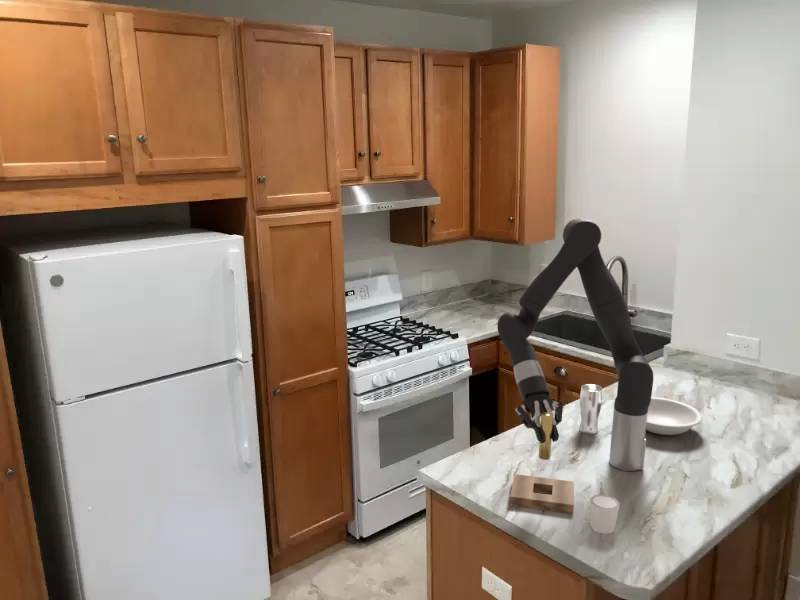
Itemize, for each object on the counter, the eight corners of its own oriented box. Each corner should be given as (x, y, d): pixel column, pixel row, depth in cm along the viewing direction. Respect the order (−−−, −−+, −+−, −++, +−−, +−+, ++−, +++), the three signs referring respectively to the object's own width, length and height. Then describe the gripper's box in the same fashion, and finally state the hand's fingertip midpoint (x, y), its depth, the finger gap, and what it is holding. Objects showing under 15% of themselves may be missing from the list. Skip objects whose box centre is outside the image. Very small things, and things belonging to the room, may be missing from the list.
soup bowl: (685, 415, 221) (687, 398, 219) (711, 447, 197) (714, 428, 196) (614, 412, 223) (616, 395, 221) (632, 444, 200) (634, 424, 198)
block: (573, 489, 173) (573, 481, 172) (573, 513, 162) (573, 505, 161) (513, 482, 177) (514, 473, 176) (509, 505, 166) (510, 496, 165)
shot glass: (584, 519, 159) (585, 494, 158) (610, 518, 160) (612, 493, 158) (594, 536, 153) (596, 510, 151) (622, 534, 153) (624, 508, 152)
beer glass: (576, 432, 207) (579, 389, 204) (579, 424, 214) (582, 382, 210) (598, 436, 205) (602, 392, 201) (600, 427, 211) (604, 385, 208)
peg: (550, 455, 168) (553, 412, 165) (550, 460, 165) (553, 417, 162) (538, 453, 168) (541, 411, 165) (538, 458, 166) (541, 416, 163)
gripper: (511, 376, 167) (530, 439, 158) (559, 372, 171) (580, 433, 162) (502, 388, 173) (519, 449, 165) (548, 383, 177) (568, 443, 168)
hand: (549, 441), depth 163 cm, fingers closed on peg, 3 cm apart
